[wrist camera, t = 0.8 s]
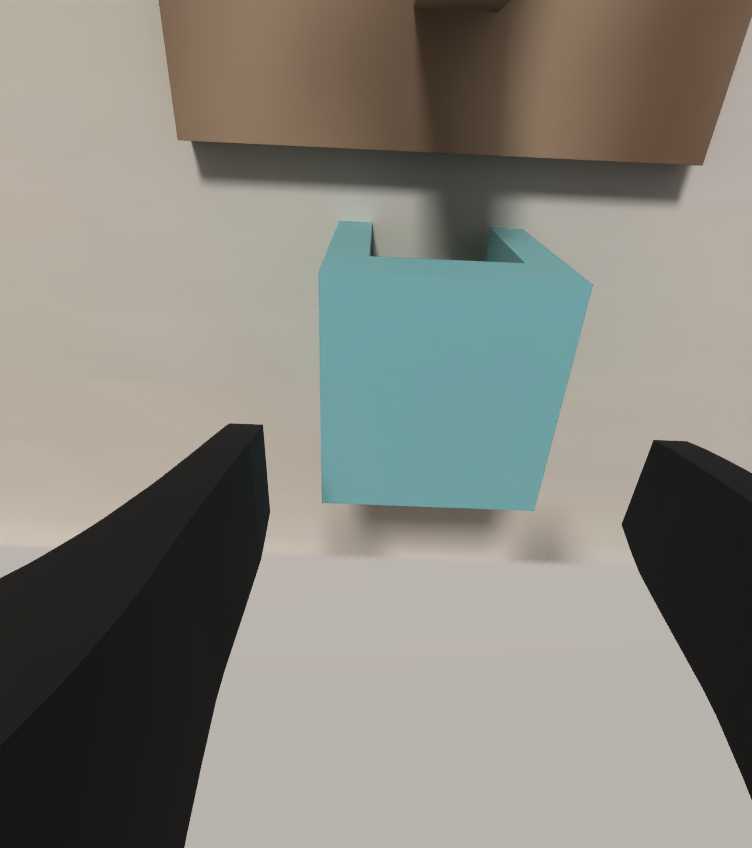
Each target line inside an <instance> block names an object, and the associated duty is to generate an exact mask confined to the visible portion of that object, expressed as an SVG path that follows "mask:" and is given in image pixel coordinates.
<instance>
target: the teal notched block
mask: <svg viewBox="0 0 752 848" xmlns="http://www.w3.org/2000/svg"><path fill="white" fill-rule="evenodd" d="M371 241H372V222H352V221H339V223H338V225H337V228H336V230H335V233H334V235H333V238H332V240H331V243H330V245H329V248H328V250H327V253H326V255H325V258H324V260H323V263H322V265H321V268H320V270H319V336H320V403H321V470H322V503H338V504H364V505H390V506H416V507H442V508H468V509H495V510H521V511H534V509H535V505H536V502H537V498H538V494H539V490H540V486H541V482H542V479H543V475H544V471H545V467H546V463H547V459H548V456H549V452H550V448H551V444H552V440H553V436H554V432H555V429H556V425H557V421H558V417H559V413H560V409H561V406H562V402H563V398H564V394H565V390H566V386H567V382H568V379H569V375H570V371H571V367H572V363H573V359H574V356H575V352H576V348H577V344H578V340H579V336H580V332H581V329H582V325H583V321H584V317H585V313H586V309H587V306H588V302H589V298H590V294H591V290H592V286H593V284H591V283H590V282H589V281H588V280H586V279H585V278H584V277H583V276H581V275H580V274H579V273H577V272H576V271H575V270H574V269H572V268H571V267H570V266H569V265H567V264H566V263H565V262H564V261H562V260H561V259H560V258H559V257H557V256H556V255H555V254H553V253H552V252H551V251H550V250H548V249H547V248H546V247H545V246H543V245H542V244H541V243H540V242H538V241H537V240H536V239H535V238H533V237H532V236H531V235H529V234H528V233H527V232H526V231H524V230H523V229H503V228H490V234H489V241H488V247H487V254H486V261H463V260H441V259H419V258H396V257H374V256H371Z"/></svg>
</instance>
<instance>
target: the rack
mask: <svg viewBox="0 0 752 848" xmlns="http://www.w3.org/2000/svg"><path fill="white" fill-rule="evenodd" d="M159 6H160V13H161V21H162V28H163V35H164V43H165V50H166V57H167V65H168V72H169V79H170V87H171V94H172V101H173V109H174V116H175V123H176V131H177V138H178V140H185V141H205V142H226V143H246V144H267V145H288V146H308V147H329V148H350V149H370V150H391V151H411V152H432V153H453V154H473V155H494V156H515V157H535V158H556V159H576V160H597V161H618V162H638V163H659V164H680V165H700V166H702V165H703V162H704V159H705V156H706V153H707V150H708V147H709V144H710V141H711V138H712V135H713V132H714V129H715V126H716V123H717V120H718V117H719V114H720V111H721V108H722V104H723V101H724V98H725V95H726V92H727V89H728V86H729V83H730V80H731V77H732V74H733V71H734V68H735V65H736V62H737V59H738V56H739V53H740V50H741V47H742V44H743V41H744V38H745V35H746V32H747V29H748V26H749V23H750V20H751V17H752V0H159Z"/></svg>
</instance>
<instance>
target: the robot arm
mask: <svg viewBox="0 0 752 848" xmlns="http://www.w3.org/2000/svg"><path fill="white" fill-rule="evenodd" d="M269 514H270V506H269V494H268V482H267V470H266V457H265V445H264V433H263V425H254V424H228V425H227V426H225V427H224V428H223V429H221V430H220V431H219V432H218V433H216V434H215V435H214V436H213V437H211V438H210V439H209V440H208V441H206V442H205V443H204V444H203V445H202V446H200V447H199V448H198V449H197V450H195V451H194V452H193V453H192V454H190V455H189V456H188V457H187V458H185V459H184V460H183V461H182V462H180V463H179V464H178V465H177V466H175V467H174V468H173V469H171V470H170V471H169V472H168V473H166V474H165V475H164V476H162V477H161V478H160V479H159V480H157V481H156V482H155V483H153V484H152V485H150V486H149V487H148V488H146V489H145V490H143V491H142V492H141V493H139V494H138V495H136V496H135V497H133V498H132V499H131V500H129V501H128V502H126V503H125V504H124V505H122V506H121V507H119V508H118V509H117V510H115V511H114V512H112V513H111V514H109V515H108V516H107V517H105V518H104V519H102V520H101V521H99V522H97V523H96V524H94V525H93V526H91V527H90V528H88V529H87V530H85V531H83V532H82V533H80V534H79V535H77V536H75V537H74V538H72V539H70V540H69V541H67V542H65V543H63V544H62V545H60V546H58V547H57V548H55V549H53V550H52V551H50V552H48V553H46V554H45V555H43V556H42V557H40V558H38V559H36V560H34V561H33V562H31V563H29V564H27V565H25V566H23V567H21V568H19V569H18V570H15V571H14V572H12V573H10V574H8V575H6V576H4V577H2V578H0V848H184V846H185V840H186V836H187V831H188V826H189V821H190V817H191V812H192V807H193V803H194V798H195V793H196V788H197V784H198V779H199V774H200V770H201V765H202V760H203V756H204V751H205V747H206V743H207V738H208V734H209V729H210V724H211V720H212V716H213V712H214V707H215V702H216V699H217V695H218V692H219V688H220V684H221V681H222V678H223V674H224V671H225V668H226V664H227V662H228V658H229V655H230V652H231V649H232V646H233V643H234V640H235V637H236V634H237V631H238V628H239V625H240V622H241V619H242V616H243V613H244V610H245V607H246V604H247V601H248V598H249V595H250V592H251V589H252V586H253V582H254V579H255V576H256V573H257V570H258V567H259V564H260V561H261V556H262V551H263V546H264V541H265V536H266V531H267V525H268V520H269ZM622 527H623V530H624V533H625V535H626V538H627V541H628V544H629V547H630V550H631V552H632V555H633V558H634V560H635V563H636V565H637V568H638V570H639V572H640V575H641V576H642V578H643V580H644V582H645V584H646V586H647V588H648V590H649V591H650V593H651V595H652V597H653V599H654V601H655V603H656V604H657V606H658V608H659V610H660V612H661V614H662V616H663V617H664V619H665V621H666V623H667V625H668V626H669V628H670V630H671V632H672V634H673V636H674V637H675V639H676V641H677V643H678V644H679V646H680V648H681V650H682V652H683V654H684V655H685V657H686V659H687V661H688V663H689V664H690V666H691V668H692V670H693V672H694V674H695V675H696V677H697V679H698V681H699V683H700V684H701V686H702V688H703V690H704V692H705V694H706V696H707V698H708V700H709V702H710V704H711V706H712V708H713V710H714V712H715V714H716V716H717V718H718V720H719V723H720V725H721V727H722V730H723V732H724V735H725V737H726V739H727V742H728V744H729V746H730V748H731V751H732V753H733V755H734V758H735V760H736V762H737V764H738V767H739V769H740V772H741V774H742V776H743V779H744V781H745V784H746V786H747V789H748V791H749V794H750V796H751V799H752V473H750V472H748V471H747V470H745V469H743V468H741V467H739V466H737V465H735V464H733V463H732V462H730V461H728V460H726V459H724V458H722V457H720V456H718V455H716V454H714V453H712V452H710V451H708V450H706V449H703V448H701V447H699V446H697V445H694V444H692V443H689V442H687V441H663V440H654V441H653V443H652V446H651V449H650V451H649V454H648V457H647V459H646V462H645V464H644V467H643V470H642V472H641V475H640V478H639V480H638V483H637V486H636V488H635V491H634V493H633V496H632V499H631V501H630V504H629V507H628V509H627V512H626V515H625V517H624V520H623V522H622Z"/></svg>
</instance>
